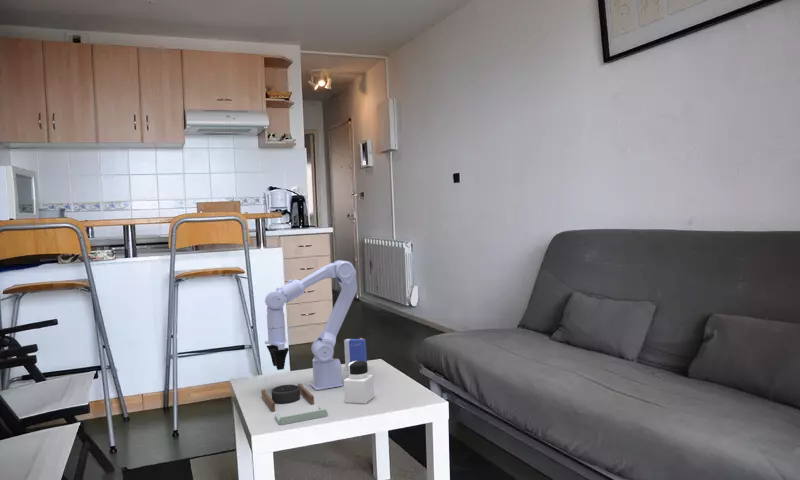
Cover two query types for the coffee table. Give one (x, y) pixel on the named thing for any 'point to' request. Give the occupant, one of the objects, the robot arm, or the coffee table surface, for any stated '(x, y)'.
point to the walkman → (355, 350)
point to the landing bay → (301, 416)
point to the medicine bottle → (358, 383)
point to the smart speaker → (285, 393)
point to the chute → (303, 392)
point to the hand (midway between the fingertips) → (278, 367)
